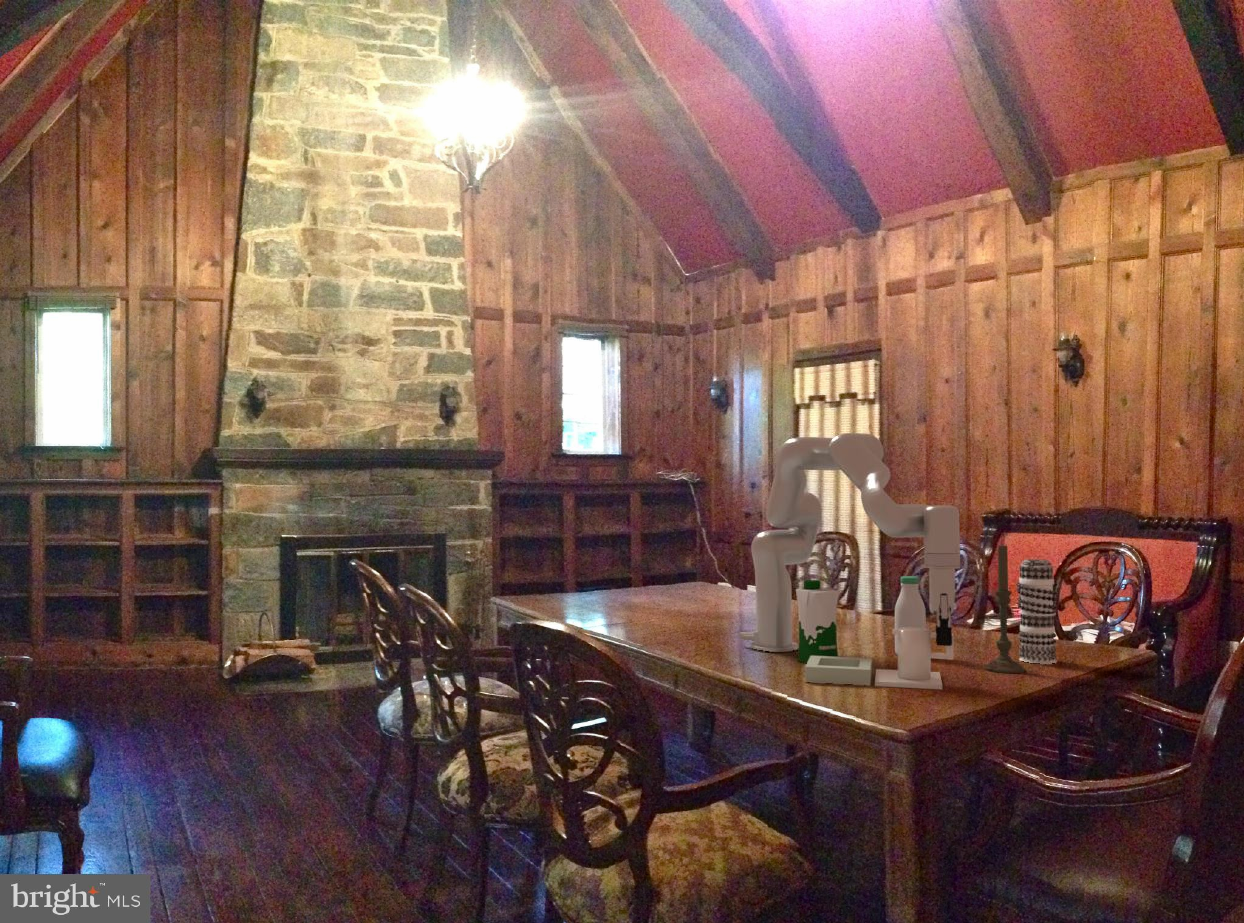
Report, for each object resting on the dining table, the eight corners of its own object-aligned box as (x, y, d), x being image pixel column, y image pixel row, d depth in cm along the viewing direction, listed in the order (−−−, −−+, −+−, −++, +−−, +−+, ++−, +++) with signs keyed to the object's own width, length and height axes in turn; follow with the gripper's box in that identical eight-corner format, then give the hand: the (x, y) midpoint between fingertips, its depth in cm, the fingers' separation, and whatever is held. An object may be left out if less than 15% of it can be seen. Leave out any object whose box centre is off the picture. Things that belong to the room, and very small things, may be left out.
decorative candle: (1026, 656, 242) (1024, 557, 243) (1064, 660, 235) (1062, 559, 236) (1011, 661, 236) (1009, 559, 236) (1049, 666, 229) (1047, 561, 230)
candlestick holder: (976, 666, 230) (975, 541, 230) (1013, 665, 231) (1011, 541, 231) (994, 673, 221) (993, 544, 221) (1032, 672, 221) (1030, 543, 222)
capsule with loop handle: (891, 678, 211) (892, 630, 211) (891, 672, 218) (892, 625, 218) (953, 682, 207) (954, 634, 207) (952, 676, 214) (952, 629, 214)
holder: (805, 682, 213) (805, 666, 213) (810, 670, 226) (810, 655, 226) (870, 685, 209) (870, 669, 209) (871, 673, 222) (871, 658, 222)
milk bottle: (928, 657, 241) (926, 578, 242) (896, 656, 243) (895, 577, 243) (924, 652, 249) (923, 575, 249) (894, 651, 250) (893, 574, 251)
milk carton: (820, 658, 242) (819, 578, 242) (844, 664, 234) (843, 582, 234) (792, 661, 238) (792, 580, 238) (816, 667, 230) (815, 584, 230)
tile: (874, 685, 209) (874, 681, 209) (876, 673, 222) (876, 669, 222) (942, 689, 205) (942, 684, 205) (939, 676, 218) (939, 672, 218)
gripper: (923, 558, 221) (925, 638, 220) (925, 563, 205) (927, 649, 205) (957, 558, 218) (959, 639, 218) (962, 564, 203) (964, 651, 203)
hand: (943, 643), depth 211 cm, fingers closed on capsule with loop handle
